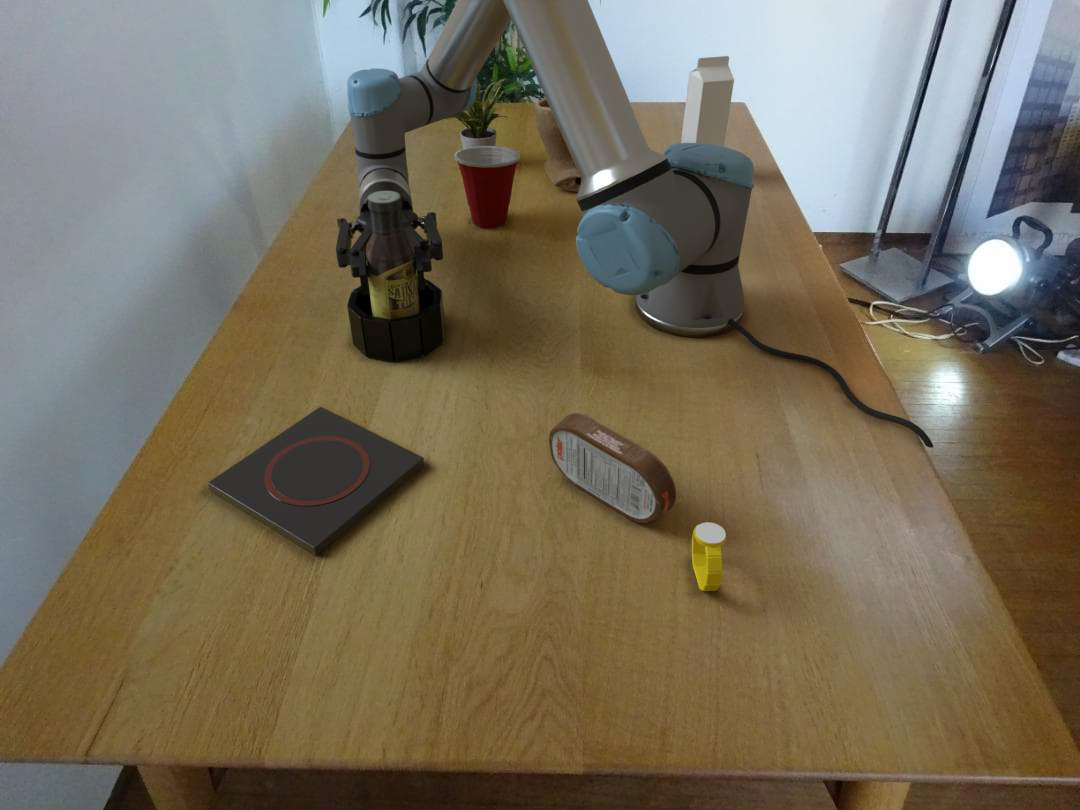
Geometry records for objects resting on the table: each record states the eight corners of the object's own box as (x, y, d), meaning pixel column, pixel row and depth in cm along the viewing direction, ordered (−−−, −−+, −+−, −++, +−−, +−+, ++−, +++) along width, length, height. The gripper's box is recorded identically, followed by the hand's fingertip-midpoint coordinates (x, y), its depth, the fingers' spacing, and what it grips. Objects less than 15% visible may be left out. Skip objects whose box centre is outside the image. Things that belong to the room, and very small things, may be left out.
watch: (724, 602, 74) (734, 558, 70) (694, 603, 74) (703, 559, 70) (710, 552, 79) (718, 509, 75) (682, 553, 79) (689, 510, 75)
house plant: (477, 144, 168) (473, 61, 158) (530, 158, 161) (530, 73, 152) (431, 164, 159) (424, 78, 149) (486, 180, 152) (482, 91, 142)
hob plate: (424, 465, 89) (423, 456, 88) (316, 556, 78) (313, 547, 77) (322, 414, 96) (320, 405, 95) (209, 491, 85) (206, 481, 84)
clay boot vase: (530, 166, 158) (530, 87, 149) (590, 163, 160) (593, 85, 150) (542, 197, 146) (543, 114, 137) (606, 194, 148) (611, 111, 139)
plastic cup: (524, 209, 142) (524, 142, 135) (517, 236, 134) (516, 166, 126) (463, 206, 143) (460, 139, 136) (452, 233, 134) (448, 163, 127)
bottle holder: (463, 329, 111) (460, 291, 107) (401, 372, 103) (396, 332, 99) (397, 304, 116) (393, 266, 112) (334, 343, 108) (327, 304, 104)
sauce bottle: (398, 354, 106) (379, 213, 94) (365, 339, 109) (343, 199, 97) (433, 333, 110) (419, 194, 98) (400, 318, 113) (383, 182, 101)
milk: (718, 183, 152) (738, 60, 139) (689, 186, 151) (706, 63, 137) (705, 171, 157) (722, 51, 143) (676, 174, 156) (691, 53, 142)
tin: (673, 525, 82) (683, 463, 77) (655, 542, 80) (663, 479, 75) (562, 458, 90) (564, 397, 85) (543, 471, 88) (544, 411, 83)
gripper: (453, 224, 120) (472, 302, 102) (322, 234, 117) (317, 316, 99) (450, 176, 116) (469, 248, 98) (313, 185, 113) (307, 261, 95)
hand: (392, 282), depth 99 cm, fingers closed on sauce bottle, 6 cm apart
